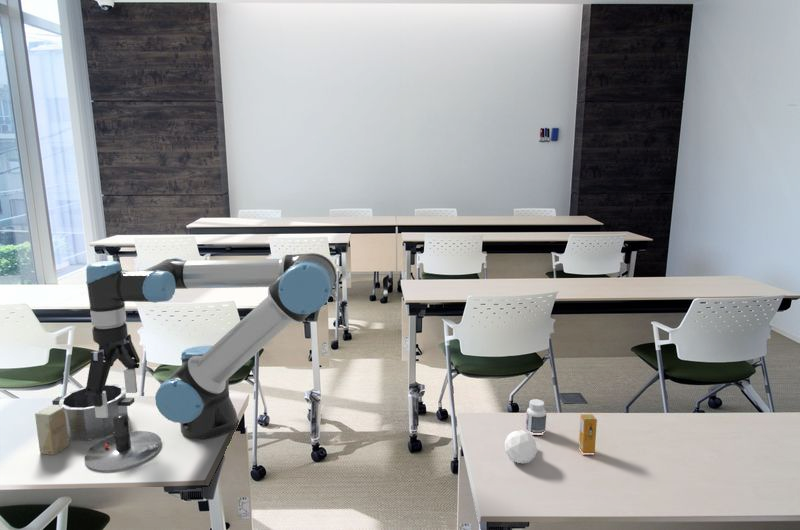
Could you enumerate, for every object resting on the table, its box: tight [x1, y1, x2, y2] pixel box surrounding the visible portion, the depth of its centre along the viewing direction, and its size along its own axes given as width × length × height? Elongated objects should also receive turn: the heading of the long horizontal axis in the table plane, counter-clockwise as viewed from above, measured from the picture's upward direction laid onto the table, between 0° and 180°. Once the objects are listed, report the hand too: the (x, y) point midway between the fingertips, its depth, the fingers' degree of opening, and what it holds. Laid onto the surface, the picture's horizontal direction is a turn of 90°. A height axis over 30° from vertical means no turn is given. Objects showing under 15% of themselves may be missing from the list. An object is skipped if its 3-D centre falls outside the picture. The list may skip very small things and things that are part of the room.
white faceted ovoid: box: [503, 429, 538, 464], centre depth 133 cm, size 8×8×12 cm
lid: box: [84, 413, 162, 472], centre depth 135 cm, size 18×18×10 cm
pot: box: [51, 383, 135, 441], centre depth 148 cm, size 22×16×9 cm
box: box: [34, 405, 70, 456], centre depth 136 cm, size 5×4×11 cm
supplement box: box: [578, 413, 598, 454], centre depth 135 cm, size 3×3×10 cm
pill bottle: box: [525, 398, 547, 433], centre depth 145 cm, size 5×5×9 cm
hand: (117, 404), depth 133 cm, fingers open, 13 cm apart
